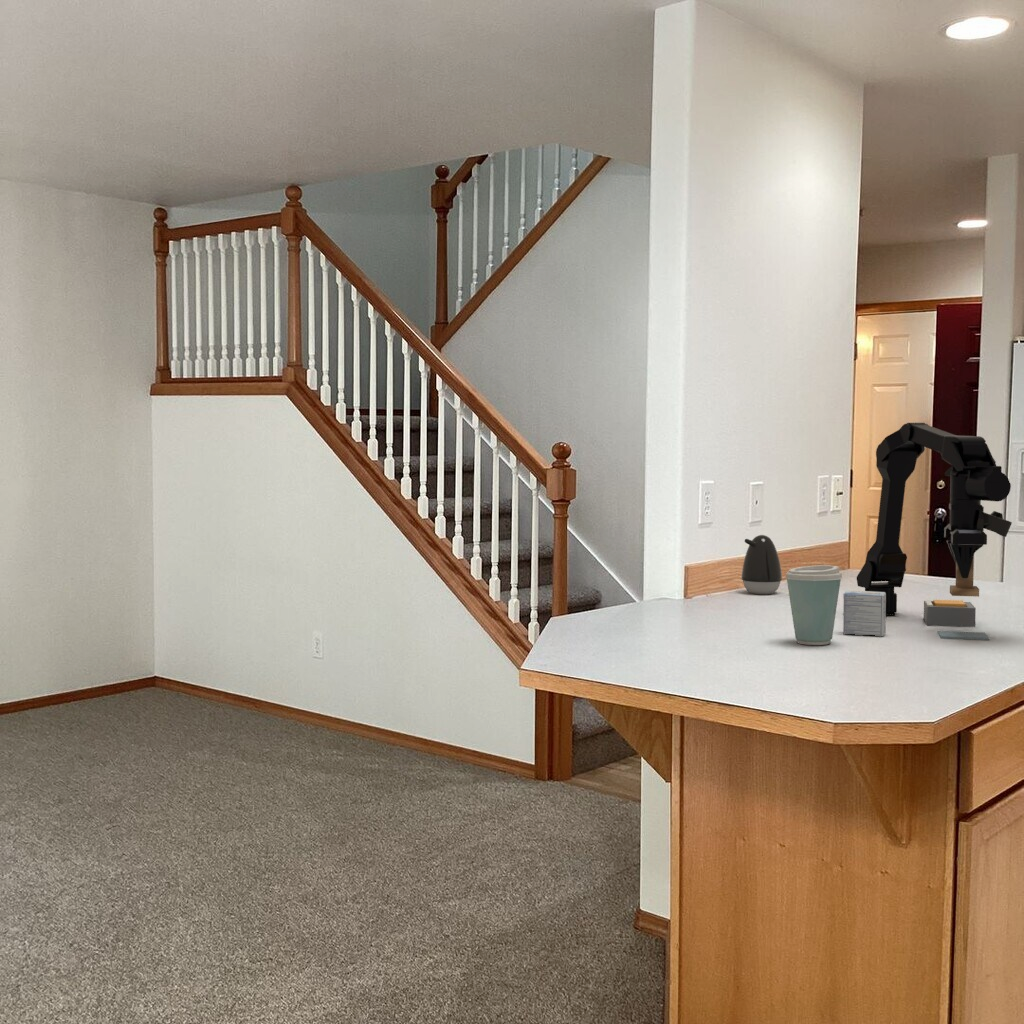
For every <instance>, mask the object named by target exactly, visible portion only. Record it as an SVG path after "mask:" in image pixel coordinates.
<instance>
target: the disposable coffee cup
mask: <svg viewBox="0 0 1024 1024" xmlns="http://www.w3.org/2000/svg"><path fill="white" fill-rule="evenodd" d="M785 579H786V583H787V590H788V596H789V603H790V610H791V617H792V622H793V623H792V624H793V629H794V637H795V639H796V642H797V643H798V644H799V645H807V646H825V645H829V644H831V641H832V640H833V634H834V629H835V628H834V627H835V621H836V620H835V619H836V613H837V609H838V608H837V607H838V599H839V594H840V589H841V581H842V579H843V576H842V572H840V567H839V566H838V565H837V566H836V565H829V564H821V565H808V566H799V567H794V568H791V569H789V570H788V571H787V572H786V573H785Z"/></svg>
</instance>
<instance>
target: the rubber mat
mask: <svg viewBox="0 0 1024 1024" xmlns="http://www.w3.org/2000/svg"><path fill="white" fill-rule="evenodd" d="M937 634H938V636H939V638H940V639H948V640H949V639H951V640H952V639H954V640H957V639H958V640H978V641H979V640H981V641H989V640H990V637H989V636H988V634H986V632H981V631H979V632H978V631H958V630H957V631H953V630H937Z"/></svg>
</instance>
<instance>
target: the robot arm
mask: <svg viewBox="0 0 1024 1024" xmlns="http://www.w3.org/2000/svg"><path fill="white" fill-rule="evenodd" d="M925 448H927V449H929V450H931V451H935V452H938V453H940V455H941V459H942V460H943V461H945V462H946V463H947V464H949V465H951V466H950V467H949V468H948V469H946V471H945V472H944V476H946V477H950V480H949V481H950V483H949V484H950V485H949V487H950V488H949V491H950V492H949V493H950V494H949V503H948V509H949V523H948V524H947V525H946V526H945V527H944V528H943V531H944V533H943V538H945V539H947V540H946V543H947V545H948V549H949V551H950V554H951V557H952V558H953V561H954V563H955V565H956V563H957V565H958V568H959V571H960V574H961V576H962V578H968V576H969V572H970V568H971V564H972V560H973V557H974V558H975V553H976V552H977V551H978V550H979V549H981V548H983V547H984V546H986V545H987V544H988V535H987V533H986V532H984V531H985V530H984V529H986V530H987V531H990V532H993V533H995V534H997V535H999V536H1001V537H1004V538H1006V537H1007V535H1008V534H1009V531H1010V528H1011V526H1012V524H1013V522H1012V521H1009V520H1007V519H1004V516H1003V513H1002V512H998V511H996V510H993V511H992V512H991V513H988V512H984V511H985V510H984V509H985V507H984V506H983V504H981V502H982V501H983V502H984V501H985V502H986V501H987V502H988V501H989V502H1001V501H1004V500H1005V499H1006V498H1008V496H1009V495H1010V491H1011V488H1012V487H1011V486H1012V484H1011V482H1010V479H1009V477H1008V476H1007V475H1006V474H1005V473H1004V472H1002V466H1001V465H997V462H996V460H995V458H994V457H993V455H992V453H991V450H990V448H989V446H988V444H987V443H986V440H985V438H984V437H983V436H978V435H977V436H975V435H956V434H954V433H950V432H948V431H945V430H942V429H939V428H937V427H933V426H930V425H929V424H928V423H925V422H906V423H904V424H902V426H900V428H899V429H898V430H896V431H894V432H892V433H891V434H888V435H887V436H886V437H884V439H883V440H882V441H881V442H880V443H879V444H878V445H877V447H876V450H875V457H876V468H877V471H878V472H879V474H880V476H881V478H882V480H881V481H882V483H881V489H880V491H881V492H880V500H879V509H878V519H877V529H876V536H875V542H874V543H873V544H872V546H871V547H870V548H869V550H868V551H867V553H866V557H865V558H866V559H865V561H864V564H863V565H862V567H861V570H859V572H858V574H857V576H856V583H857V587H860V588H864V591H873V592H885V593H886V616H896V615H895V614H896V613H897V611H898V610H897V609H898V607H897V606H898V604H897V603H898V594H897V592H895V588H902V585H903V582H904V577H905V573H906V571H907V568H906V566H907V560H908V559H907V558H908V557H907V554H906V553H904V552H903V550H902V548H901V546H900V538H901V537H900V536H901V529H902V528H901V525H902V521H903V520H902V517H903V510H904V501H905V491H906V483H907V481H908V479H909V478H910V477H911V475H912V474H913V473H914V471H915V470H916V465H917V460H918V458H919V457H920V456H922V454H923V453H924V452H925ZM948 538H950V539H948Z"/></svg>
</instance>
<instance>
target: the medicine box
mask: <svg viewBox="0 0 1024 1024" xmlns="http://www.w3.org/2000/svg"><path fill="white" fill-rule="evenodd" d="M842 595H843V596H842V597H843V598H842V599H843V606H842V607H843V609H842V610H843V613H842V614H843V617H842V618H843V619H842V620H843V623H842V624H843V625H842V626H843V627H842V629H843V632H842V634H843V635H845V634H855V635H854V636H863V635H875V636H874V637H881V636H883V635H884V636H885V634H886V632H887V629H886V628H887V627H886V626H887V620H886V619H887V617H886V616H887V615H886V593H885V592H873V591H865V590H846V591H845V592H844V593H843V594H842ZM884 636H883V637H884Z"/></svg>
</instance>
